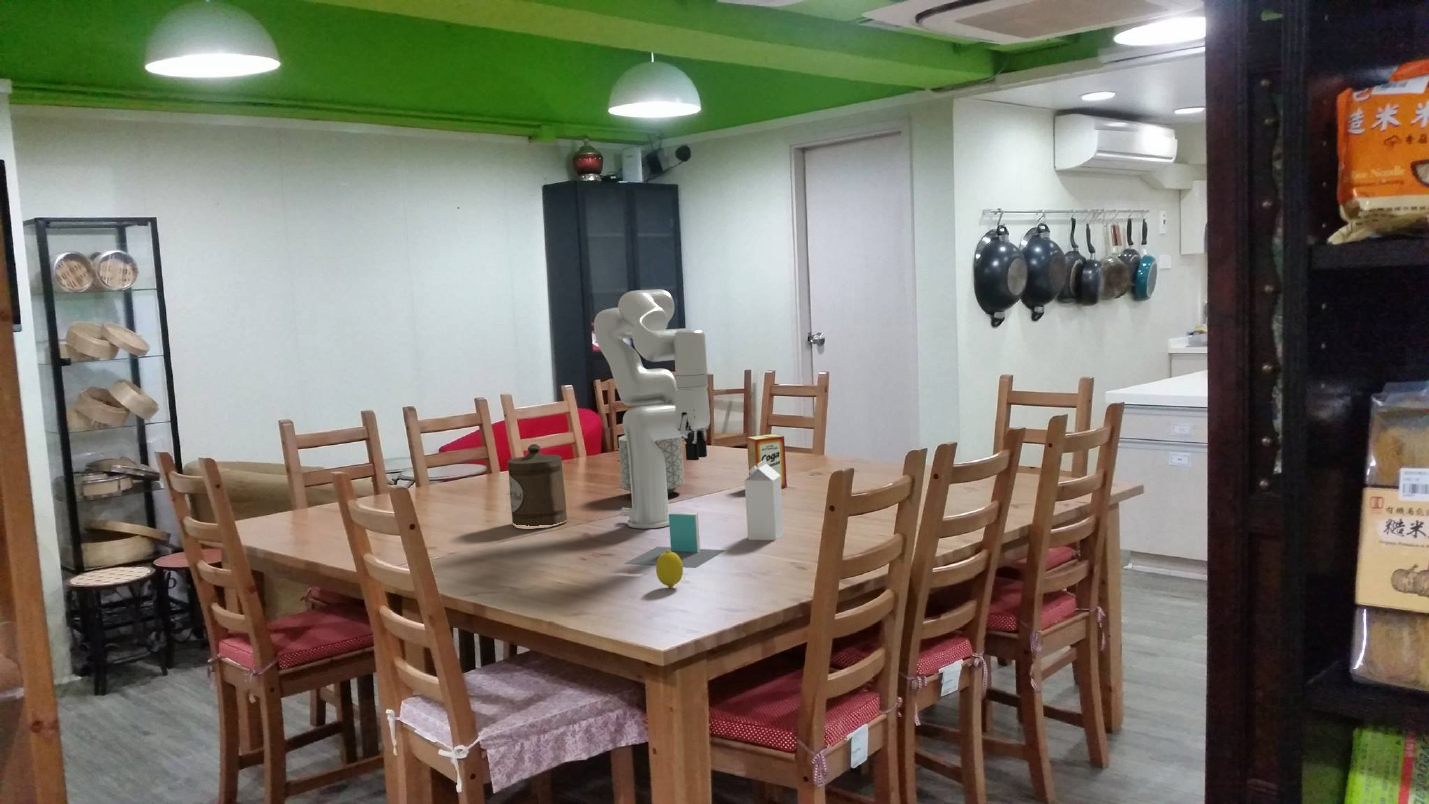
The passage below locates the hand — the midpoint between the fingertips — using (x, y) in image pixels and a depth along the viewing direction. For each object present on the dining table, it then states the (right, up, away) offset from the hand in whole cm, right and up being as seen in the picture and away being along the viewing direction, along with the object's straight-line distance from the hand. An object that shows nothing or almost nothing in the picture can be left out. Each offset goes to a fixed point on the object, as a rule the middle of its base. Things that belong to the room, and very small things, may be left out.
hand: (696, 457), depth 261 cm
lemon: (-5, -25, -34) cm, 43 cm away
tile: (-3, -22, -6) cm, 23 cm away
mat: (-5, -23, -10) cm, 25 cm away
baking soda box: (+21, -13, +72) cm, 76 cm away
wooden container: (-44, -20, +39) cm, 62 cm away
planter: (-14, -15, +71) cm, 74 cm away
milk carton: (+17, -20, +5) cm, 27 cm away
